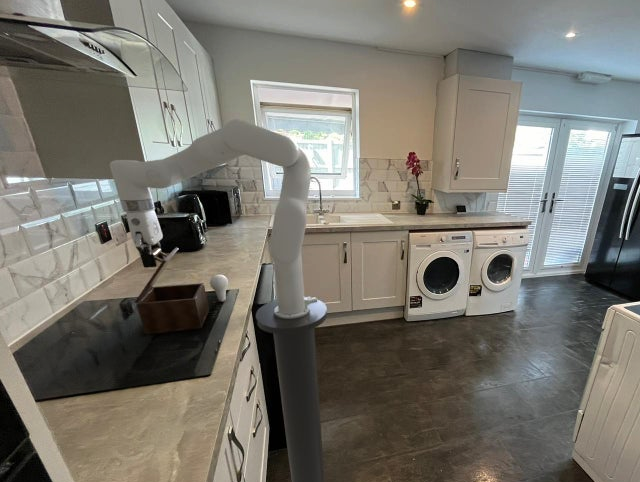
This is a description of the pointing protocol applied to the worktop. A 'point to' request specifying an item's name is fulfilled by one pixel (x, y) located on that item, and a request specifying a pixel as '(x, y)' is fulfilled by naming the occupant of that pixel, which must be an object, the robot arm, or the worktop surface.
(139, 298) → the lid
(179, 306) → the chest
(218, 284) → the lightbulb
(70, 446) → the worktop surface
